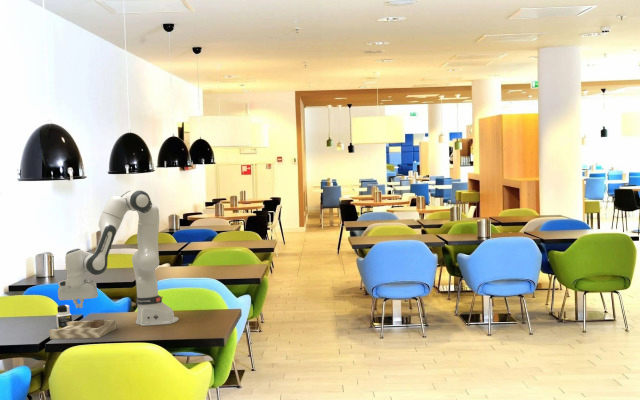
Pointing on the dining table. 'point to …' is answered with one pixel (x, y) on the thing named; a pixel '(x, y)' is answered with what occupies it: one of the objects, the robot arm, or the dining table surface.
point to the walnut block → (96, 323)
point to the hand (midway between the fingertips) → (79, 307)
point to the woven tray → (82, 330)
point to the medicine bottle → (63, 316)
